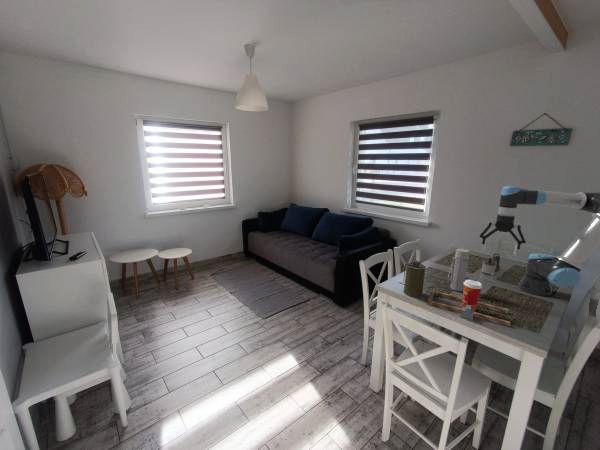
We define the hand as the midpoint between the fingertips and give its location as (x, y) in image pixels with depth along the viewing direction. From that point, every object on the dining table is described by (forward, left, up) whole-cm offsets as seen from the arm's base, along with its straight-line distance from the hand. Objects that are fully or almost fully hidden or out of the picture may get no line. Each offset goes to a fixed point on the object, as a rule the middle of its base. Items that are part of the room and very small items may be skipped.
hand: (499, 252), depth 147 cm
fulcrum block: (+10, +34, -27) cm, 44 cm away
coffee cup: (+10, +24, -27) cm, 37 cm away
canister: (+38, +23, -27) cm, 52 cm away
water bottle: (+18, +2, -27) cm, 32 cm away
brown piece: (+10, +24, -27) cm, 37 cm away
